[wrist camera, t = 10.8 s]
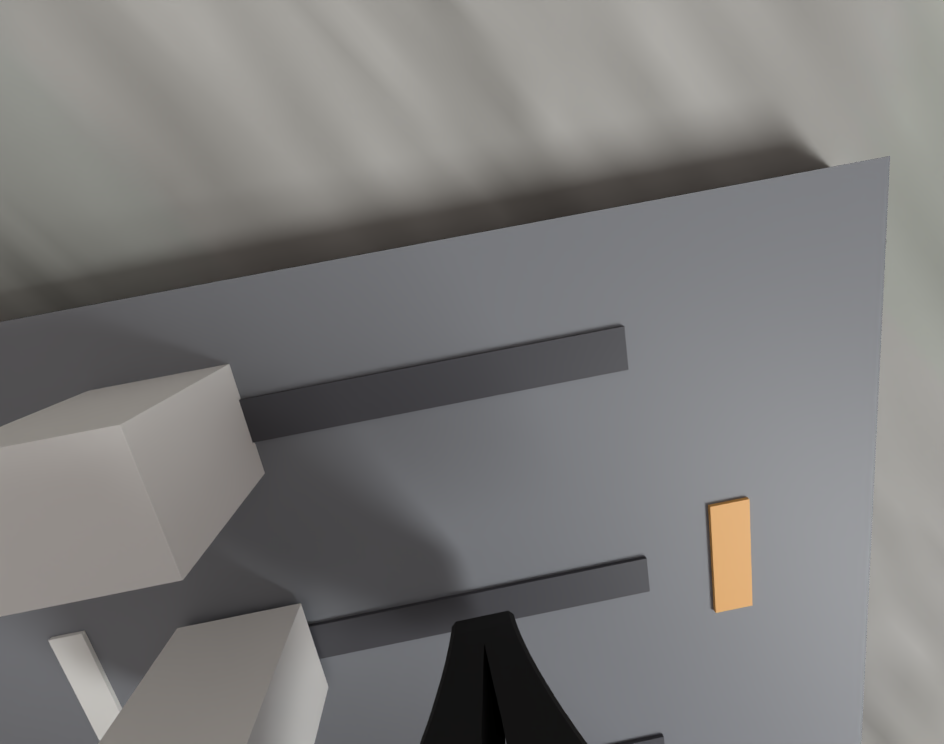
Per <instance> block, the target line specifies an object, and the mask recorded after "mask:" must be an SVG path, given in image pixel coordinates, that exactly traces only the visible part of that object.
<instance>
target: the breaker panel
mask: <svg viewBox="0 0 944 744" xmlns="http://www.w3.org/2000/svg"><path fill="white" fill-rule="evenodd" d="M889 167H890V156H887V157H882V158H877V159H871V160H866V161H861V162H855V163H850V164H844V165H839V166H834V167H828V168H823V169H818V170H812V171H807V172H802V173H796V174H791V175H786V176H780V177H775V178H769V179H764V180H759V181H753V182H748V183H743V184H737V185H732V186H727V187H721V188H716V189H710V190H705V191H700V192H694V193H689V194H684V195H678V196H673V197H668V198H662V199H657V200H651V201H646V202H641V203H635V204H630V205H625V206H619V207H614V208H609V209H603V210H598V211H592V212H587V213H582V214H576V215H571V216H566V217H560V218H555V219H550V220H544V221H539V222H533V223H528V224H523V225H517V226H512V227H507V228H501V229H496V230H491V231H485V232H480V233H474V234H469V235H464V236H458V237H453V238H448V239H442V240H437V241H432V242H426V243H421V244H415V245H410V246H405V247H399V248H394V249H389V250H383V251H378V252H373V253H367V254H362V255H356V256H351V257H346V258H340V259H335V260H330V261H324V262H319V263H314V264H308V265H303V266H297V267H292V268H287V269H281V270H276V271H271V272H265V273H260V274H255V275H249V276H244V277H238V278H233V279H228V280H222V281H217V282H212V283H206V284H201V285H196V286H190V287H185V288H179V289H174V290H169V291H163V292H158V293H153V294H147V295H142V296H137V297H131V298H126V299H120V300H115V301H110V302H104V303H99V304H94V305H88V306H83V307H78V308H72V309H67V310H61V311H56V312H51V313H45V314H40V315H35V316H29V317H24V318H19V319H13V320H8V321H2V322H0V744H98V743H99V742H100V740H101V739H102V737H103V736H104V734H105V733H106V732H107V730H108V729H109V727H110V726H111V724H112V723H113V721H114V720H115V718H116V717H117V715H118V714H119V712H120V711H121V710H122V708H123V707H124V705H125V704H126V702H127V701H128V699H129V698H130V696H131V695H132V693H133V692H134V691H135V689H136V688H137V686H138V685H139V683H140V682H141V680H142V679H143V677H144V676H145V674H146V673H147V672H148V670H149V669H150V667H151V666H152V664H153V663H154V661H155V660H156V658H157V657H158V655H159V654H160V653H161V651H162V650H163V648H164V647H165V645H166V644H167V642H168V641H169V639H170V638H171V636H172V635H173V634H174V632H175V631H176V629H177V628H181V627H186V626H190V625H195V624H200V623H205V622H210V621H215V620H220V619H225V618H230V617H235V616H240V615H245V614H250V613H255V612H260V611H265V610H270V609H275V608H279V607H284V606H289V605H294V604H299V603H301V605H302V608H303V611H304V614H305V617H306V620H307V623H308V626H309V629H310V632H311V635H312V638H313V641H314V645H315V648H316V651H317V654H318V657H319V660H320V663H321V666H322V669H323V672H324V675H325V678H326V681H327V684H328V691H327V695H326V699H325V703H324V707H323V711H322V715H321V719H320V723H319V727H318V731H317V735H316V739H315V743H314V744H420V742H421V739H422V736H423V734H424V731H425V728H426V725H427V722H428V719H429V716H430V713H431V710H432V707H433V704H434V700H435V697H436V694H437V690H438V687H439V683H440V680H441V676H442V672H443V669H444V665H445V661H446V656H447V652H448V647H449V642H450V636H451V629H452V626H453V624H454V623H455V622H456V621H461V620H466V619H470V618H475V617H480V616H485V615H489V614H494V613H499V612H504V611H510V612H511V613H513V614H514V617H515V620H516V623H517V626H518V629H519V631H520V634H521V636H522V638H523V640H524V642H525V645H526V647H527V649H528V650H529V652H530V654H531V656H532V658H533V660H534V662H535V664H536V666H537V667H538V669H539V671H540V673H541V674H542V676H543V678H544V679H545V681H546V683H547V684H548V686H549V688H550V689H551V691H552V693H553V694H554V696H555V697H556V699H557V700H558V702H559V703H560V705H561V707H562V708H563V710H564V711H565V713H566V714H567V715H568V717H569V718H570V720H571V721H572V723H573V724H574V726H575V727H576V729H577V730H578V731H579V733H580V734H581V735H582V737H583V738H584V740H585V741H586V742H587V744H861V741H862V720H863V700H864V679H865V659H866V638H867V618H868V597H869V577H870V556H871V536H872V515H873V495H874V474H875V454H876V433H877V413H878V392H879V372H880V351H881V331H882V310H883V290H884V269H885V249H886V228H887V208H888V187H889ZM505 743H506V740H505Z"/></svg>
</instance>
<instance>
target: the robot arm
mask: <svg viewBox="0 0 944 744" xmlns="http://www.w3.org/2000/svg"><path fill="white" fill-rule="evenodd" d="M505 740H506V743H505ZM420 744H587V742H586V741H585V740H584V738H583V737H582V735H581V734H580V733H579V731H578V730H577V729H576V727H575V726H574V724H573V723H572V721H571V720H570V718H569V717H568V715H567V714H566V713H565V711H564V710H563V708H562V707H561V705H560V703H559V702H558V700H557V699H556V697H555V696H554V694H553V693H552V691H551V689H550V688H549V686H548V684H547V683H546V681H545V679H544V678H543V676H542V674H541V673H540V671H539V669H538V667H537V666H536V664H535V662H534V660H533V658H532V656H531V654H530V652H529V650H528V649H527V647H526V645H525V642H524V640H523V638H522V636H521V634H520V631H519V629H518V626H517V623H516V620H515V617H514V614H513V613H511V612H510V611H504V612H499V613H494V614H489V615H485V616H480V617H475V618H470V619H466V620H461V621H456V622H455V623H454V624H453V626H452V629H451V636H450V642H449V647H448V652H447V656H446V661H445V665H444V669H443V672H442V676H441V680H440V683H439V687H438V690H437V694H436V697H435V700H434V704H433V707H432V710H431V713H430V716H429V719H428V722H427V725H426V728H425V731H424V734H423V736H422V739H421V742H420Z"/></svg>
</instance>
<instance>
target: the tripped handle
mask: <svg viewBox="0 0 944 744" xmlns="http://www.w3.org/2000/svg"><path fill="white" fill-rule="evenodd" d="M327 691H328V684H327V681H326V678H325V675H324V672H323V669H322V666H321V663H320V660H319V657H318V654H317V651H316V648H315V645H314V641H313V638H312V635H311V632H310V629H309V626H308V623H307V620H306V617H305V614H304V611H303V608H302V605H301V603H299V604H294V605H289V606H284V607H279V608H275V609H270V610H265V611H260V612H255V613H250V614H245V615H240V616H235V617H230V618H225V619H220V620H215V621H210V622H205V623H200V624H195V625H190V626H186V627H181V628H177V629H176V631H175V632H174V634H173V635H172V636H171V638H170V639H169V641H168V642H167V644H166V645H165V647H164V648H163V650H162V651H161V653H160V654H159V655H158V657H157V658H156V660H155V661H154V663H153V664H152V666H151V667H150V669H149V670H148V672H147V673H146V674H145V676H144V677H143V679H142V680H141V682H140V683H139V685H138V686H137V688H136V689H135V691H134V692H133V693H132V695H131V696H130V698H129V699H128V701H127V702H126V704H125V705H124V707H123V708H122V710H121V711H120V712H119V714H118V715H117V717H116V718H115V720H114V721H113V723H112V724H111V726H110V727H109V729H108V730H107V732H106V733H105V734H104V736H103V737H102V739H101V740H100V742H99V743H98V744H314V743H315V739H316V735H317V731H318V727H319V723H320V719H321V715H322V711H323V707H324V703H325V699H326V695H327Z"/></svg>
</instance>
